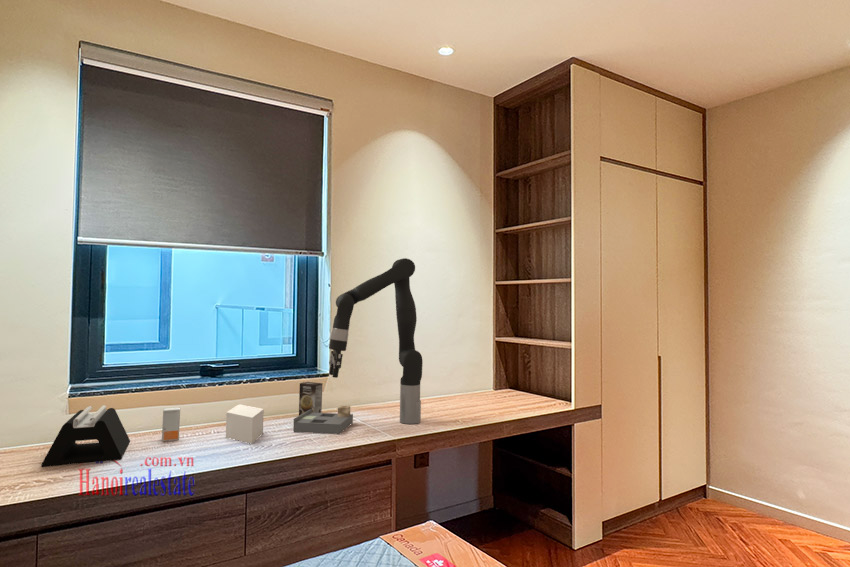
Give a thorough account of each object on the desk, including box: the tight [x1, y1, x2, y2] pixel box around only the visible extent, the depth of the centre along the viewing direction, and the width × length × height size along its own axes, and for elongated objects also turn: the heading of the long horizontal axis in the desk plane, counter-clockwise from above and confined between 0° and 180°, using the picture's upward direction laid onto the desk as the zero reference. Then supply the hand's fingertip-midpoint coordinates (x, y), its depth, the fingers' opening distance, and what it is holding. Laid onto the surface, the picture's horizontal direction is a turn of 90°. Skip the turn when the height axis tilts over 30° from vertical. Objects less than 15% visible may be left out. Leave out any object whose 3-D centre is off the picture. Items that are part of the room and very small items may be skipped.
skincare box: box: [161, 407, 181, 442], centre depth 199 cm, size 6×4×12 cm
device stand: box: [41, 404, 131, 468], centre depth 179 cm, size 22×22×15 cm
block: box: [337, 405, 351, 417], centre depth 227 cm, size 4×4×4 cm
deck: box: [292, 409, 354, 435], centre depth 222 cm, size 20×20×6 cm
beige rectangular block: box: [225, 403, 265, 445], centre depth 206 cm, size 14×29×10 cm, turn 29°
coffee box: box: [298, 381, 323, 416], centre depth 241 cm, size 9×6×16 cm
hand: (333, 376), depth 222 cm, fingers open, 8 cm apart
